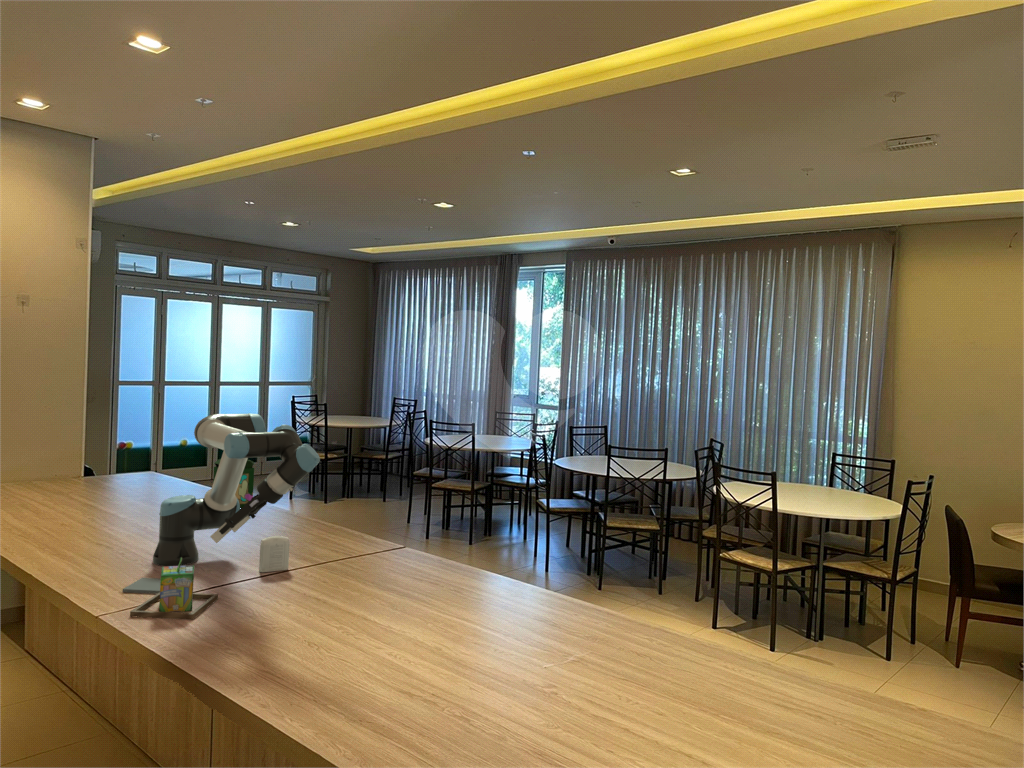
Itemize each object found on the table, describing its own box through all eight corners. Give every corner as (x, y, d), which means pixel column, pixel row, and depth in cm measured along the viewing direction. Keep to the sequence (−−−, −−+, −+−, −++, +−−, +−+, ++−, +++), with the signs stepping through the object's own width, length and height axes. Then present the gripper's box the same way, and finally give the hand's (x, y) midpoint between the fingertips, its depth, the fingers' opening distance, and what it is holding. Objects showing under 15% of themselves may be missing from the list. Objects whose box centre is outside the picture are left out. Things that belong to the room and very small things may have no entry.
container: (207, 507, 350) (209, 457, 350) (241, 502, 364) (242, 454, 363) (222, 512, 341) (224, 460, 340) (256, 507, 355) (258, 458, 354)
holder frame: (130, 616, 203) (130, 611, 203) (160, 596, 221) (160, 591, 221) (192, 619, 203) (192, 614, 203) (218, 598, 221) (218, 594, 221)
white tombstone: (286, 567, 258) (288, 533, 258) (289, 570, 254) (291, 536, 254) (257, 570, 252) (259, 536, 252) (260, 573, 249) (262, 539, 248)
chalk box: (159, 603, 214) (161, 555, 214) (193, 601, 218) (194, 553, 218) (157, 614, 206) (159, 564, 206) (192, 611, 210) (194, 562, 209)
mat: (122, 592, 223) (122, 589, 223) (142, 580, 235) (142, 577, 235) (160, 594, 223) (160, 590, 223) (178, 582, 235) (178, 579, 235)
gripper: (269, 503, 199) (214, 554, 199) (296, 488, 223) (246, 533, 224) (251, 484, 198) (196, 534, 198) (279, 471, 223) (230, 516, 223)
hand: (223, 534), depth 211 cm, fingers open, 13 cm apart
